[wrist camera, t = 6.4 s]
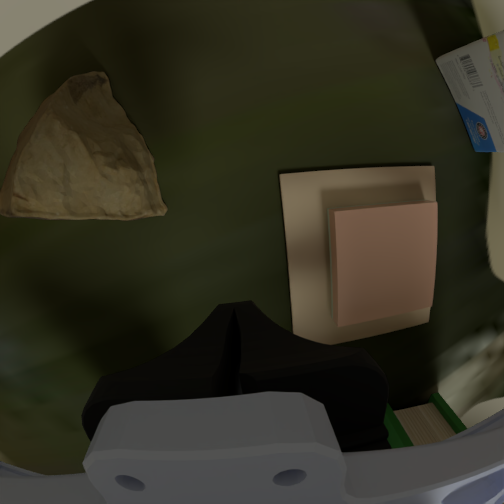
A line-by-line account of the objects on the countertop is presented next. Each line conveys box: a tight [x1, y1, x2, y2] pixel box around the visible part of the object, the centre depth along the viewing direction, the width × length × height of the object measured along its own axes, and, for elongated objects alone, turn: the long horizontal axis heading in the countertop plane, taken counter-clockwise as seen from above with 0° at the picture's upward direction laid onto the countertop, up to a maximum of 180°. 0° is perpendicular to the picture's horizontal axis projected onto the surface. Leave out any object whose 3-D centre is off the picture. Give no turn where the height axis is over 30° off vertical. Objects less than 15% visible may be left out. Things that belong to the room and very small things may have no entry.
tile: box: [327, 200, 437, 327], centre depth 21 cm, size 8×2×8 cm
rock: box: [0, 71, 167, 221], centre depth 16 cm, size 11×9×10 cm
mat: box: [279, 166, 436, 345], centre depth 22 cm, size 13×12×1 cm
